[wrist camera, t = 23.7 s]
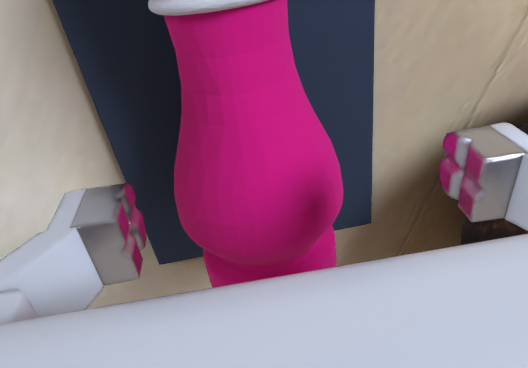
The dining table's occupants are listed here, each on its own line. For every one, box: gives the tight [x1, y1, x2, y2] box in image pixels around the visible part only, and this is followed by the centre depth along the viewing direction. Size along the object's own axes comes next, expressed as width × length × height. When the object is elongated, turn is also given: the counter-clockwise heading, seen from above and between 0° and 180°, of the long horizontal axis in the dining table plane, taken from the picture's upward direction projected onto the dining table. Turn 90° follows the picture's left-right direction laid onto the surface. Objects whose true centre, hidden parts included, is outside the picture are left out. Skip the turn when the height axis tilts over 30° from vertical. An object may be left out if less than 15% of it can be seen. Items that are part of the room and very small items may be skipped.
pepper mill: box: [148, 0, 343, 288], centre depth 15 cm, size 7×7×20 cm
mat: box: [53, 0, 375, 265], centre depth 18 cm, size 24×13×1 cm, turn 8°
